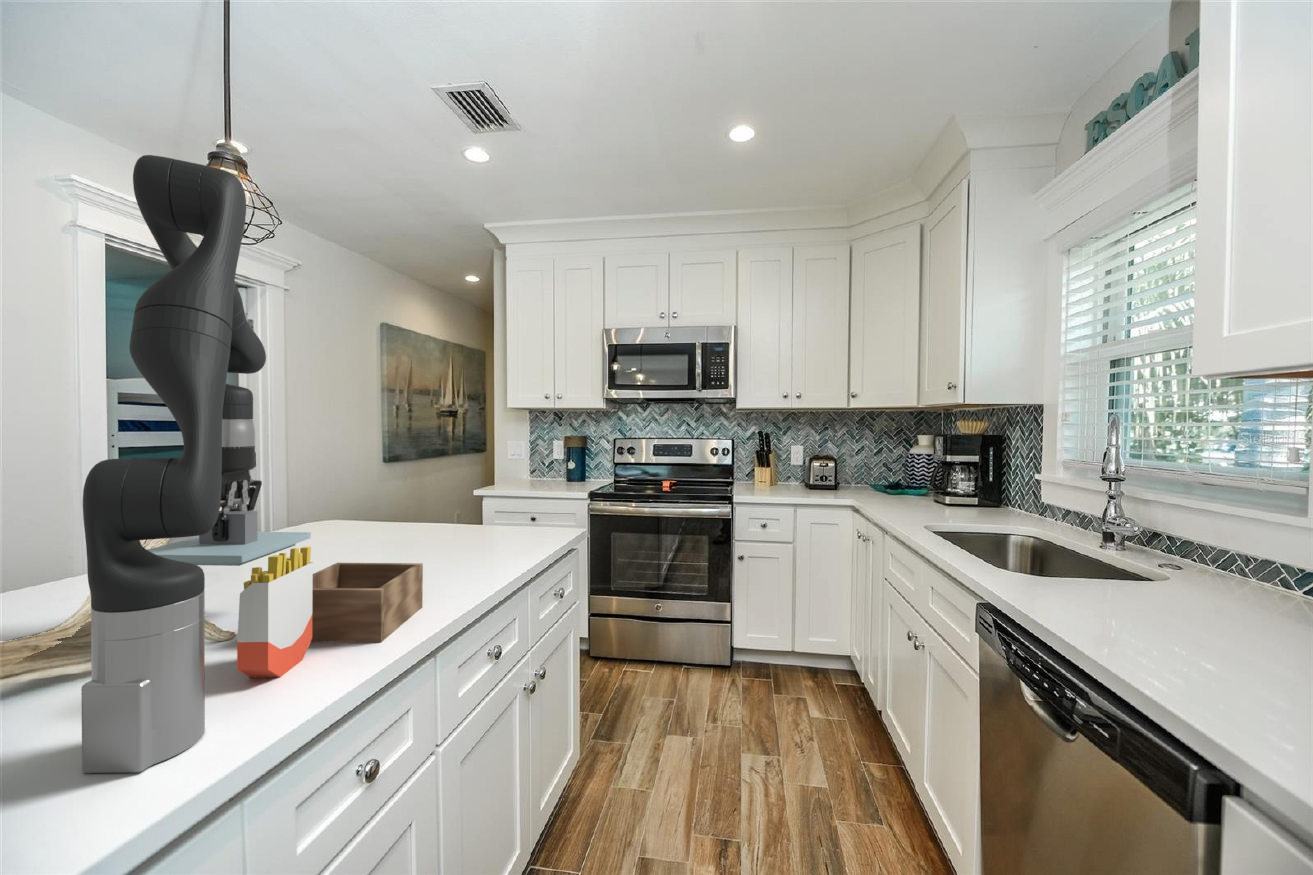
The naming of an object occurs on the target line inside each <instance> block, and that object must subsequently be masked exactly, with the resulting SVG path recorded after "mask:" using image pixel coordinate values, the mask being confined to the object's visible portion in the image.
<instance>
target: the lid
mask: <svg viewBox="0 0 1313 875" xmlns="http://www.w3.org/2000/svg"><path fill="white" fill-rule="evenodd" d="M219 511H220V513H221V510H219ZM227 520H229V538H228V540H226V541H214V540H213V537H212V529H211V530H210V531H209V532H208V533H206V534H204V535H199V536H193V537H190V538H186V539H182V540H179V541H176V542H173V543H172V542H171V543H168V544H164V545H160V546H157V547H152V548H148V549H147V550H148V551H150V552H152V553H154V554H156V555H158V556H161V557H164V558H167V559H171V560H176V561H181V562H186V563H191V564H195V565H197V566H225V567H228V566H229V567H230V566H231V567H232V566H233V567H235V566H236V567H238V566H239V567H240V566H242V565H246V564H248V563H250V562H253V561H256V560H259V559H261V558H264V557H267V556H271V555H274V554H276V553H278V552H281V551H283V550H287V549H289V548H292V547H295V546H296V544H299V543H301V542H304V541H307V540H310V539H311V534H312V533H311V532H306V531H305V532H303V531H296V532H295V531H293V532H292V531H258V510H257V511H255V510H253V511H229V517H228V519H227Z"/></svg>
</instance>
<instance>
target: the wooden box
mask: <svg viewBox="0 0 1313 875" xmlns="http://www.w3.org/2000/svg"><path fill="white" fill-rule="evenodd" d="M423 565H424V564H423V563H422V562H420V563H419V562H418V563H417V562H416V563H414V562H408V563H407V562H406V563H405V562H404V563H403V562H402V563H401V562H336V563H334V564H332V565H329V566H327V567H324V568H323V569H320V570H319V571H316V572H315V573H313V591H312V640H311V642H310V643H382V642H383V641H384V640H386V639H387V638H388V637H389V636H390V635H392V633H394V632H395V631H396V630H398V628H400V627H401V626H402V625H403V624H404V623H406V622H407V621H408V620H409V619H410V618H411V617H412V616H414V615H415V614H416V613H417V612H419V611H420V610H421V609H422V608H423V597H424V596H423V591H424V590H423V584H424V583H423V580H424V578H423V576H424V574H423V572H424V571H423V570H424V569H423V568H424V566H423Z"/></svg>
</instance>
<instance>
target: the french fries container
mask: <svg viewBox="0 0 1313 875" xmlns="http://www.w3.org/2000/svg"><path fill="white" fill-rule="evenodd" d="M311 549H312V546H302V547H300V548H299V547H293V548H292V547H291V548H290V549H289V557H287V555H288V554H287V553H288V552H280V553H279V554H278V555H276V554H272V555H269V556H268V558H267V559H268V560H267V570H264V571H263V567H262V566H261V567H260V566H259V567H258V566H256V567H251V575H250V580H249V579H248V580H247V581H244V582H243V590H242V591H241V592H240V594H239V606H238V621H237V623H238V624H237V641H236V644H237V645H236V646H237V647H236V650H237V651H236V654H237V656H236V667H237V668H236V669H237V671H238V672H240V673H242V674H244V675H245V676H246V677H247V678H249V679H257V678H258V679H260V678H281V677H282V676H284V675H285V674H286V673H288V672H290V670H292V669H293V668H295V666H297V665H298V664H299V663H301V662H302V661H303V659H304V658H305V655H306V653H307V650H308V649H309V647H310V644H311V643H312V642H311V640H312V591H313V574H314V573H313V572H314V571H313V567H314V566H313V565H314V564H313V561H311V555H312V554H311V552H312V550H311ZM299 550H300V552H299Z"/></svg>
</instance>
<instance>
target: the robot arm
mask: <svg viewBox="0 0 1313 875" xmlns="http://www.w3.org/2000/svg"><path fill="white" fill-rule="evenodd" d="M132 173H133V174H132V185H133V186H132V187H133V192H134V197H135V201H136V203H137V206H138V209H139V211H140V214H141V216H142V218H143V220H144V222H145V224H146V225H147V227H148V229H149V231H150V234H151V235H152V236H153V239H154V240H155V242H156V244H157V247H159V248H158V249H159V250H160V251H161V253H162V255H163V257H164V258H165V260H166V262H167V264H168V265H169V266H170V268H171V270H170V271H169V272H167V273H165V274H164V275H163V276H161V277H160V278H159V279H157V281H155V282H153V284H151V285H150V286H149V287H148V288H147V289H146V290H145V291H144V292H143V293H142V295H140V297H139V299H138V300H137V302H136V304H135V308H134V311H133V312H134V313H133V319H132V325H131V326H132V327H131V332H130V333H131V334H130V340H129V354H130V356H131V359H132V361H133V363H134V364H135V366H136V368H137V370H138V371H139V373H140V374H141V376H142V377H143V378H144V379H145V381H146V382H147V384H149V386H150V387H151V389H152V390H153V391H154V392H155V393H156V394H157V396H159V398H160V399H161V400H162V402H163V403H164V404H165V405H166V408H167V409H168V410H169V412H170V414H171V416H172V417H173V418H174V420H175V421H176V423H177V425H178V427H179V430H180V433H181V437H182V440H183V442H182V444H183V452H182V453H183V454H182V456H181V457H151V458H150V457H142V458H141V457H136V458H134V457H132V458H111V459H110V458H109V459H105V460H100V461H99V462H97V463H96V464H95V465H93V467H92V468H90V470H89V472H88V474H87V475H86V478H85V482H84V486H83V490H82V491H83V492H82V514H83V515H82V517H83V526H84V527H83V529H84V539H85V547H86V549H85V550H86V560H87V561H86V562H87V564H86V565H87V566H86V567H87V569H86V570H87V582H88V587H89V593H90V608H91V609H90V618H91V619H90V620H91V622H90V626H91V630H90V631H91V632H90V633H91V634H90V639H91V640H90V642H91V643H90V646H91V647H90V648H91V649H90V651H91V653H90V654H91V655H90V656H91V658H90V659H91V660H90V662H91V669H90V670H91V680H89V681H87V682H85V683H84V684H82V685H81V690H80V691H81V772H82V773H83V774H84V773H85V774H86V773H93V774H95V773H99V774H102V773H140V772H143V771H145V770H146V769H148V768H149V767H151V766H153V765H155V764H158V763H160V762H164V761H165V760H169V759H170V758H171V759H172V758H173V757H175V756H177V755H179V754H181V753H183V752H185V751H186V750H188V749H189V748H191V747H192V746H194V745H195V744H196V743H197V742H199V740H201V739H202V738H203V736H204V734H205V731H206V716H205V715H206V713H205V712H206V709H205V708H206V702H205V701H206V698H205V697H206V694H205V692H206V691H205V688H206V687H205V681H206V678H205V677H206V674H205V673H206V672H205V669H206V668H205V666H206V664H205V663H206V661H205V660H206V659H205V655H206V654H205V641H206V640H205V639H206V638H205V632H206V631H205V614H206V613H205V610H206V609H205V592H206V591H205V582H206V581H205V579H206V578H205V572H204V569H203V568H202V567H201V566H200V565H195V564H191V563H186V562H181V561H176V560H171V559H167V558H164V557H161V556H158V555H156V554H154V553H152V552H150V551H148V549H146V548H145V547H144V546H143V545H142V543H141V541H147V540H162V539H172V538H174V539H175V538H189V537H190V538H192V537H198V536H199V535H204V534H206V533H208V532H209V531H210V530H211V529H212V537H213V540H214V541H226V540H228V538H229V520H227V519H228V517H229V511H255V507H256V503H257V502H258V497H259V495H260V491H261V487H262V485H263V482H262V480H260V479H259V480H257V479H252V477H251V474H250V471H251V470H254V469H255V467H256V442H255V441H256V438H255V437H256V434H255V433H256V431H255V423H254V396H253V395H254V394H253V392H252V390H250V389H249V388H246V387H243V386H239V385H233V384H228V383H227V378H228V374H230V373H231V374H243V375H244V374H245V375H247V374H248V375H249V374H256V373H257V372H259V371H261V370H262V369H263V368H264V366H265V364H266V361H267V354H266V350H265V347H264V345H263V342H262V341H261V339H260V338H259V336H258V335H257V334H256V332H255V331H254V330H253V328H252V327H251V325H250V324H249V322H248V319H247V317H246V313H245V312H246V311H245V307H244V304H243V298H242V295H241V293H240V291H239V289H238V287H237V286H236V284H235V281H236V272H237V266H238V262H239V261H238V260H239V257H240V252H241V245H242V243H243V242H242V240H243V235H244V231H245V225H246V218H247V217H246V216H247V198H246V193H245V189H244V186H243V183H242V182H241V180H240V179H239V177H237V175H235V174H233V173H232V172H229V171H227V170H224V169H221V168H219V167H214V166H208V165H205V164H200V163H196V162H192V161H186V160H182V159H176V158H171V157H167V156H160V155H154V154H153V155H152V154H145V155H142V156H140V157H139V158H138V159H136V162H135V164H134V167H133V172H132ZM188 234H193V235H197V236H198V235H200V236H203V238H202V239H201V241H200V243H199V245H198V246H197V244H195V243H194V242H193V241H192V239H191V238H190V236H189V235H188ZM165 405H164V406H165ZM220 508H221V510H220ZM220 511H221V513H220Z"/></svg>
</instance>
